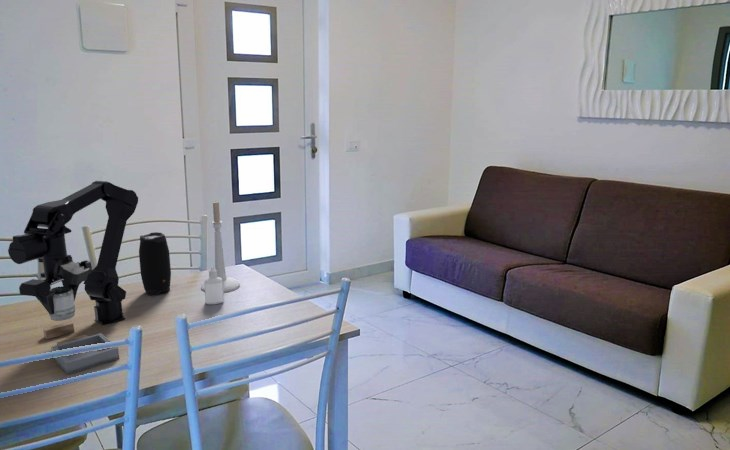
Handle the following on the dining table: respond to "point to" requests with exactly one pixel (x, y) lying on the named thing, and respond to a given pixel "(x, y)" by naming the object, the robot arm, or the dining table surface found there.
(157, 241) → the portable speaker
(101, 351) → the tray
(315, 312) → the dining table surface
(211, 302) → the eye dropper bottle
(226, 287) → the candlestick
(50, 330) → the lens cradle
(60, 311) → the camera lens
